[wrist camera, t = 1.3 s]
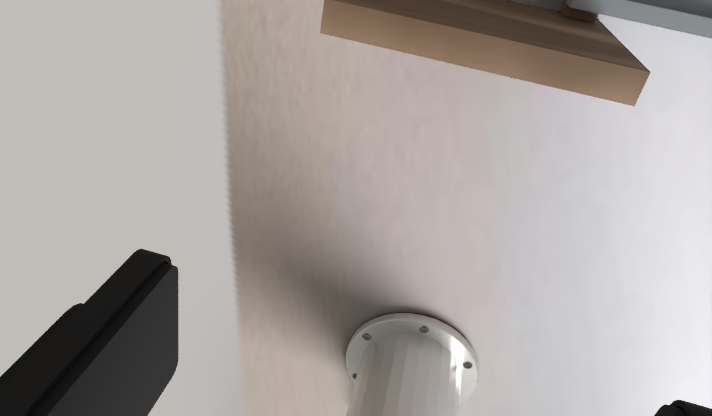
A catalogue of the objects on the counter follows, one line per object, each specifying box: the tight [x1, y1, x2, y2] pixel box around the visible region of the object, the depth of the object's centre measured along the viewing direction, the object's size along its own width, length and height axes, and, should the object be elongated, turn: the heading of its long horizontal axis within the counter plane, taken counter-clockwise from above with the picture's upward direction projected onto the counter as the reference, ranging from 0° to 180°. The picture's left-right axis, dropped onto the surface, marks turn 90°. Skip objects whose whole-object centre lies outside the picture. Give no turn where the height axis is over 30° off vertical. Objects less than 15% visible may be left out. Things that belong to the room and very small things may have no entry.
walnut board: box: [320, 0, 650, 106], centre depth 30 cm, size 5×15×12 cm, turn 80°
